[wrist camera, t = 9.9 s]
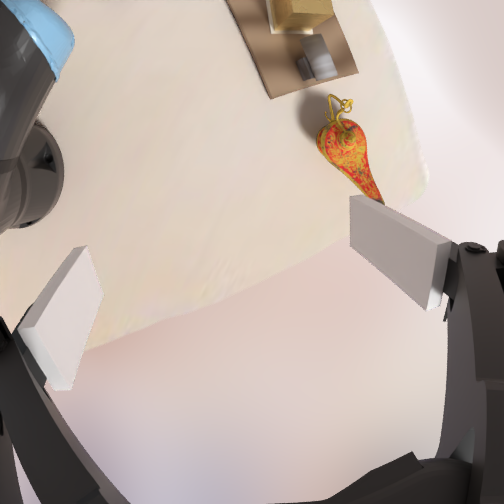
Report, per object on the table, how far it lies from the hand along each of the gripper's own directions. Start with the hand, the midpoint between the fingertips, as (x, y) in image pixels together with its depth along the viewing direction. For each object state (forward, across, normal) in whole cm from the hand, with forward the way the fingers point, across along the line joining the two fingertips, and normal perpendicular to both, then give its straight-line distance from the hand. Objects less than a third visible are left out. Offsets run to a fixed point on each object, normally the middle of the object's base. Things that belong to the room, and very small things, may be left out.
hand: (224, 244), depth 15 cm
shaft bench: (+29, -15, -20) cm, 38 cm away
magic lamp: (+29, -20, 0) cm, 35 cm away
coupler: (+27, -15, -20) cm, 37 cm away
